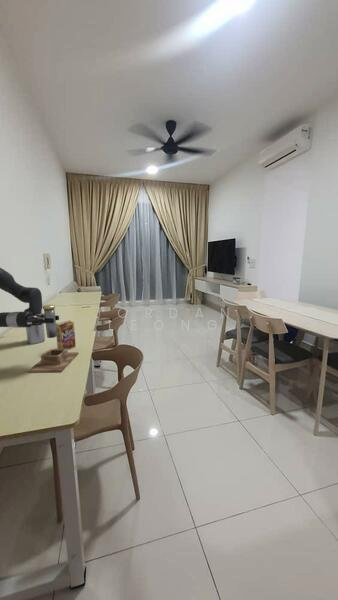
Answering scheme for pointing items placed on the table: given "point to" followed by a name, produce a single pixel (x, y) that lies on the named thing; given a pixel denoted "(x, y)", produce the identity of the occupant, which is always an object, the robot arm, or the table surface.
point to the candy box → (65, 335)
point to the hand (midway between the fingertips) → (56, 319)
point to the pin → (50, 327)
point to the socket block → (54, 361)
